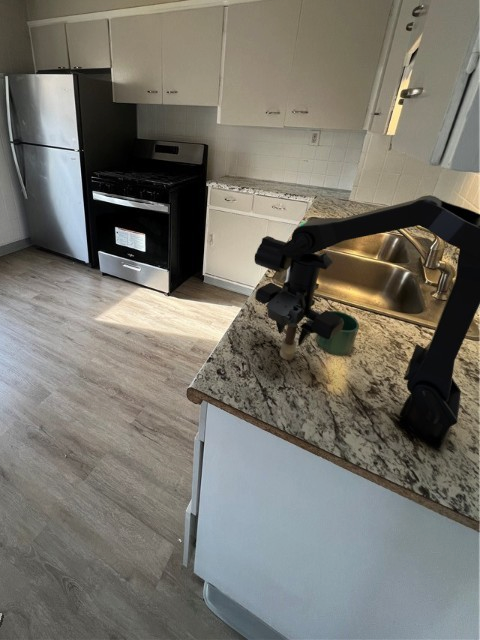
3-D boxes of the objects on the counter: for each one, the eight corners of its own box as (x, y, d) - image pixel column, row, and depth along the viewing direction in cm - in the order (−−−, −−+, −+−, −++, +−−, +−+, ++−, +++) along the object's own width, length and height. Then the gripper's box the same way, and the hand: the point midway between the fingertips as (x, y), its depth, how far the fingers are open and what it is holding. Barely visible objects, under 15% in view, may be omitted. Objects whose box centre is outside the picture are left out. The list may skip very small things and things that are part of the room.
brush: (296, 356, 74) (303, 325, 70) (288, 362, 72) (294, 331, 68) (284, 348, 76) (290, 318, 72) (276, 354, 74) (282, 323, 70)
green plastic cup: (357, 345, 78) (365, 322, 75) (341, 360, 73) (349, 336, 70) (326, 328, 84) (332, 307, 81) (310, 341, 79) (315, 318, 76)
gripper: (242, 273, 67) (236, 331, 74) (323, 314, 54) (307, 380, 61) (274, 259, 74) (265, 314, 80) (353, 293, 61) (335, 355, 67)
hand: (290, 338), depth 72 cm, fingers open, 5 cm apart
